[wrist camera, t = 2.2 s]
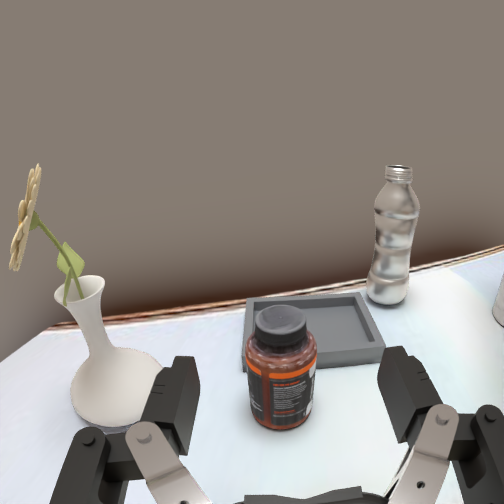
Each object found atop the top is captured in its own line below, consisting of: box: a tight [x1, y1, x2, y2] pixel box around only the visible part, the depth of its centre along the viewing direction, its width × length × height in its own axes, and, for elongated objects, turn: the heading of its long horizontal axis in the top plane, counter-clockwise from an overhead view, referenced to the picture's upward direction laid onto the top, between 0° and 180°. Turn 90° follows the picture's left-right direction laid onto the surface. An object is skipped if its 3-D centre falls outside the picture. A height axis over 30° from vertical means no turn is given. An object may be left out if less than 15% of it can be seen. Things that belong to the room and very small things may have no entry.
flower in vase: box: [9, 164, 163, 427], centre depth 24 cm, size 13×11×25 cm
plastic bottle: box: [366, 165, 420, 305], centre depth 41 cm, size 6×7×20 cm
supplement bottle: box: [245, 305, 317, 430], centre depth 26 cm, size 6×6×11 cm
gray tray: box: [242, 292, 386, 372], centre depth 38 cm, size 16×12×2 cm
